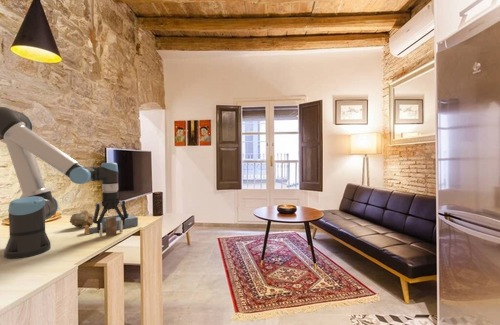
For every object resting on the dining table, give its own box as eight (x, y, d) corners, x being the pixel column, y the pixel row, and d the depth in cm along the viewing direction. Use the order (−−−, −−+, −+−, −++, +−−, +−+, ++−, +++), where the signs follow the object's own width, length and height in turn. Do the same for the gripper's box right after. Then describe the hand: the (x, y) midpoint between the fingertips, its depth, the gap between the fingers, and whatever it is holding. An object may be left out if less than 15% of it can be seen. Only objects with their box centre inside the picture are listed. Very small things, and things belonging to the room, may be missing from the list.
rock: (84, 229, 144) (84, 212, 144) (67, 229, 144) (66, 212, 144) (97, 224, 156) (97, 208, 156) (81, 224, 156) (81, 208, 156)
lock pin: (86, 234, 133) (86, 227, 133) (84, 232, 137) (84, 225, 137) (115, 229, 143) (115, 222, 143) (113, 227, 147) (113, 220, 146)
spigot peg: (108, 236, 130) (107, 219, 130) (106, 235, 133) (105, 218, 132) (116, 234, 132) (116, 218, 132) (114, 233, 135) (113, 216, 135)
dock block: (108, 231, 140) (108, 222, 140) (100, 225, 152) (100, 217, 152) (137, 225, 151) (137, 217, 151) (128, 221, 163) (127, 213, 163)
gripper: (88, 194, 122) (89, 240, 122) (134, 190, 137) (135, 231, 137) (84, 193, 127) (85, 237, 128) (129, 189, 143) (130, 228, 143)
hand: (111, 233), depth 133 cm, fingers open, 9 cm apart
